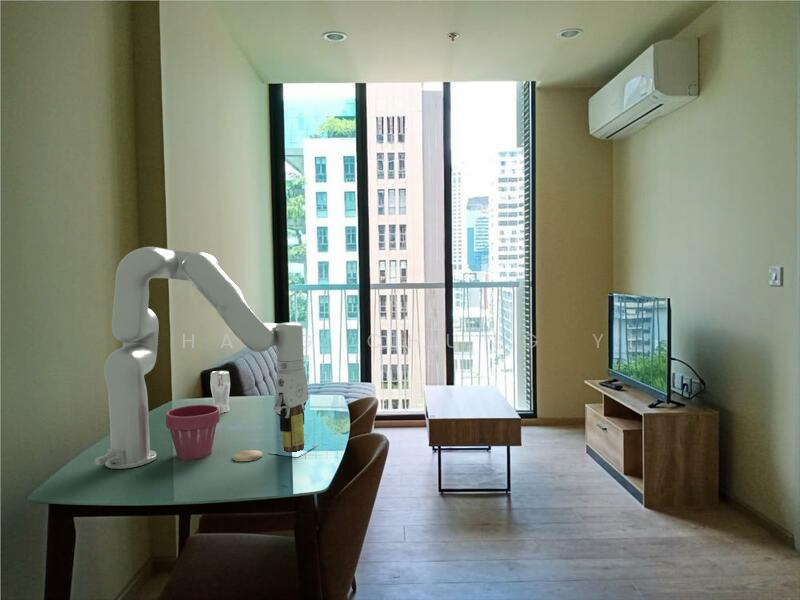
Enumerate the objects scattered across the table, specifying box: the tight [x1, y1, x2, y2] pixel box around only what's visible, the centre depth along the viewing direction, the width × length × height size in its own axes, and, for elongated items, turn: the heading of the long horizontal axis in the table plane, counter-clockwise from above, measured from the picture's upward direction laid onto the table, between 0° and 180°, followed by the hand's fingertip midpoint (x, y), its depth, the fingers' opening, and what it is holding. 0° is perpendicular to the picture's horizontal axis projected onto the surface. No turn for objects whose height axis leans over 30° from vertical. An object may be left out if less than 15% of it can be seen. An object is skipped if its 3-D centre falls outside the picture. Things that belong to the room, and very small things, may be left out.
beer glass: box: [210, 370, 231, 414], centre depth 196 cm, size 7×7×15 cm
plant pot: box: [165, 404, 221, 461], centre depth 149 cm, size 14×14×13 cm
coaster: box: [231, 449, 263, 462], centre depth 146 cm, size 8×8×1 cm
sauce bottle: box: [281, 404, 305, 452], centre depth 150 cm, size 7×6×20 cm
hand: (292, 427), depth 150 cm, fingers closed on sauce bottle, 6 cm apart
